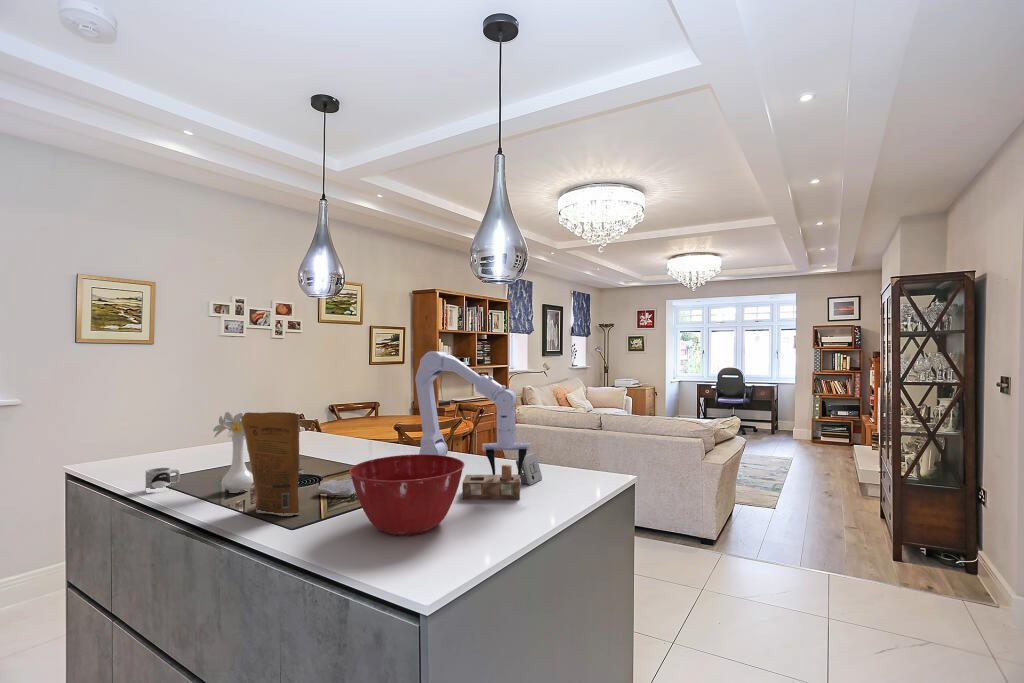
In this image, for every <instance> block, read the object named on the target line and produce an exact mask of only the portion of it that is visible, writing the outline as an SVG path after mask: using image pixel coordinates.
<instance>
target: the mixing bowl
mask: <svg viewBox="0 0 1024 683" xmlns="http://www.w3.org/2000/svg"><path fill="white" fill-rule="evenodd" d="M464 467H465V462H464V461H463V460H461V459H459V458H456V457H453V456H448V455H446V456H442V455H427V454H419V453H418V454H402V455H393V456H385V457H380V458H379V457H378V458H375V459H374V458H373V459H370V460H366V461H363V462H359V463H357V464H355V465H353V466H351V467H350V469H349V470H348V473H349V475H350V477H351V479H352V481H353V485H354V488H355V491H356V496H357V500H358V501H359V504H360V506H361V508H362V509H363V512H364V514H365V515H366V517H367V519H368V521H369V522H370V523H371V524H372V525H373V526H374V527H375V528H377V529H378V530H381V531H382V532H383V531H384V532H383V533H385V534H387V533H388V535H391V534H392V535H391V536H403V535H404V536H412V535H414V534H415V535H420V534H424V533H427V532H429V531H431V530H433V529H434V528H435V527H436V526H438V525H439V524H440V523H441V522H443V520H444V519H445V518H446V516H447V514H448V513H449V511H450V509H451V507H452V504H453V502H454V499H455V498H456V497H455V496H456V495H457V492H458V489H459V485H460V481H461V477H462V474H463V473H462V472H463V469H464ZM423 532H424V533H423ZM419 533H420V534H419Z"/></svg>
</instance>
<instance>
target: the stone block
mask: <svg viewBox="0 0 1024 683" xmlns="http://www.w3.org/2000/svg"><path fill="white" fill-rule="evenodd" d="M354 492H356V491H355V488H354V485H353V481H352V478H347V479H344V480H335V479H329V480H327V481H325V482H324V481H323V482H321V483H320V484H319V485H318V486H317V489H316V494H327V495H351V494H353V493H354Z"/></svg>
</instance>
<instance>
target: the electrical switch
mask: <svg viewBox="0 0 1024 683" xmlns="http://www.w3.org/2000/svg"><path fill="white" fill-rule="evenodd" d="M515 465H516V468H517V469H518V465H519V459H517V460H515ZM541 480H543V475H542V471H541V467H540V462H539V460H538V457H537V454H536V452H531V453H529V454H526V456H525V458H524V461H523V463H522V467H521V472H520V485H523V484H527V485H528V486H532V485H533V484H536V483H538V482H539V481H541Z"/></svg>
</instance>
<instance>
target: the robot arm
mask: <svg viewBox="0 0 1024 683" xmlns="http://www.w3.org/2000/svg"><path fill="white" fill-rule="evenodd" d="M417 368H418V369H417V372H416V375H415V378H414V379H415V387H416V394H417V395H416V396H417V401H418V402H417V403H418V408H419V415H420V422H421V423H420V424H421V429H422V436H421V438H420V441H419V442H420V449H419V452H418V455H419V454H427V455H442V456H448V451H449V447H448V444H447V443H446V442H445V439H444V435H443V433H442V432H441V431H440V424H439V418H438V410H437V404H436V397H435V388H434V381H435V380H436V378H438V376H439V375H440V374H441V373H443V372H454V373H455V374H457V375H458V376H460V377H462V378H463V379H465V380H467V381H468V382H469V383H471V384H473V385H474V387H475V391H476V392H477V393H479V394H481V395H482V396H483V397H485V398H487V399H488V400H489V401H491V402H494V405H495V407H496V442H489V443H487V442H486V443H482V446H481V447H482V450H481V451H482V452H485V455H486V457H487V460H488V461H489V464H490V467H491V472H492V475H496V461H495V459H496V456H495V455H496V452H495V451H517V453H518V454H517V455H518V459H517V460H519V465H518V468H517V475H520V472H521V467H522V463H523V461H524V458H525V456H526V455H527V451H528V452H529V451H531V443H530V442H516V441H517V440H516V433H517V432H516V404H517V400H518V399H517V398H518V396H517V394H516V393H515V392H514V391H513V390H512V389H511V388H507V386H506V385H504V384H503V385H502V384H500V383H499V382H497V381H496V380H494V377H493V376H492V375H485V374H484V375H480V374H479V373H477V372H475V371H474V370H473V369H472V368H470V367H469V366H468V365H466V364H465V363H464V362H462V361H461V360H459V359H458V358H457V357H455V356H453V355H451V354H449V353H448V352H446V351H444V350H439V351H434V350H430V351H428V352H426V353H425V354H424V355H423V356H422V357H421V358H420V360H419V366H418V367H417Z"/></svg>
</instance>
